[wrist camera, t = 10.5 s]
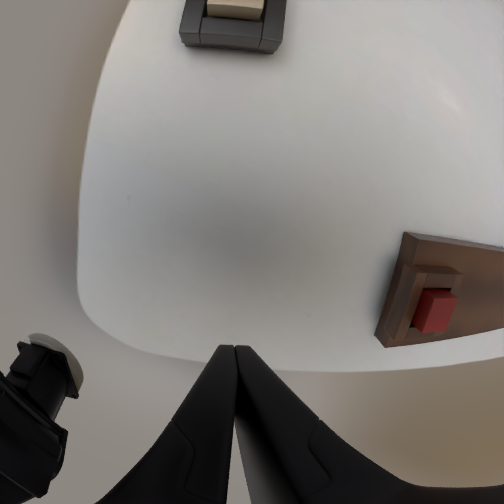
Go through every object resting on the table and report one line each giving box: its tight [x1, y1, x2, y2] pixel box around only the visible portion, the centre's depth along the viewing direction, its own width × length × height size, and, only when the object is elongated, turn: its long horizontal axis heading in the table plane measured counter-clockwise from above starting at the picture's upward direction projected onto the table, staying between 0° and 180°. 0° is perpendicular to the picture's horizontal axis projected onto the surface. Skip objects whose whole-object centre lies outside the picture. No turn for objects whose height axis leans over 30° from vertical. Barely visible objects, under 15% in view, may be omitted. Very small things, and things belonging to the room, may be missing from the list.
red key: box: [411, 289, 458, 333], centre depth 19 cm, size 3×3×2 cm
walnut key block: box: [375, 232, 504, 348], centre depth 23 cm, size 10×25×4 cm, turn 84°
